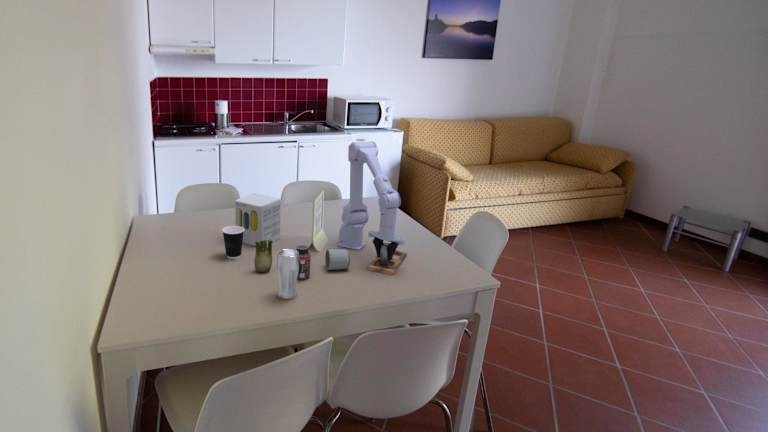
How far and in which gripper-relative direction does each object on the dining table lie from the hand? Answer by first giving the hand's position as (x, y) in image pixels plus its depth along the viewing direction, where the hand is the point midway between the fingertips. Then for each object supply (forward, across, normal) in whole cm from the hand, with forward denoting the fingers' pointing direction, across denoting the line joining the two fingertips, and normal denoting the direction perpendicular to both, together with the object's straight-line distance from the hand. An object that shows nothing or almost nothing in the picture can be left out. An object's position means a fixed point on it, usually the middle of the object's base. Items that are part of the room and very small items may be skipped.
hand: (384, 258), depth 186 cm
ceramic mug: (+4, +15, +11) cm, 19 cm away
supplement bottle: (+4, +20, +25) cm, 32 cm away
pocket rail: (+4, +1, -5) cm, 6 cm away
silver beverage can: (+4, +16, +38) cm, 41 cm away
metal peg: (+2, 0, 0) cm, 2 cm away
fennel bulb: (+4, +34, +29) cm, 45 cm away
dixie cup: (+4, +50, +26) cm, 57 cm away
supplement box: (+4, +54, +7) cm, 55 cm away
